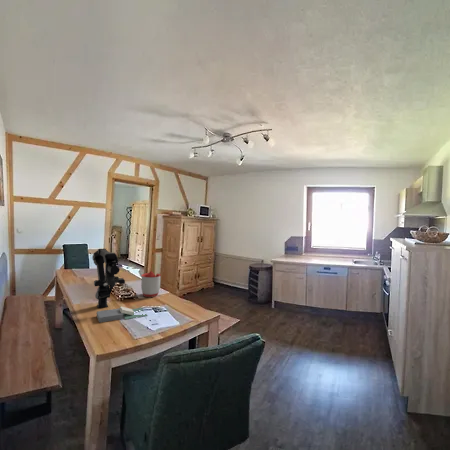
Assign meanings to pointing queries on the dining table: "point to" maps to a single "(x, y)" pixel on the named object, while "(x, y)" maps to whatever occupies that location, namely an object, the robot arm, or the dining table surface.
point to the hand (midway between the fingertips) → (109, 294)
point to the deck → (109, 315)
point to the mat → (133, 314)
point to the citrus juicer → (150, 284)
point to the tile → (126, 310)
